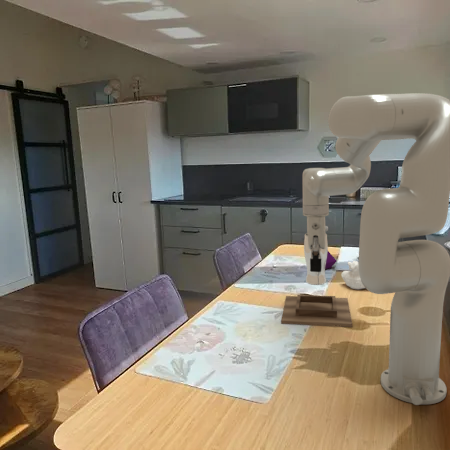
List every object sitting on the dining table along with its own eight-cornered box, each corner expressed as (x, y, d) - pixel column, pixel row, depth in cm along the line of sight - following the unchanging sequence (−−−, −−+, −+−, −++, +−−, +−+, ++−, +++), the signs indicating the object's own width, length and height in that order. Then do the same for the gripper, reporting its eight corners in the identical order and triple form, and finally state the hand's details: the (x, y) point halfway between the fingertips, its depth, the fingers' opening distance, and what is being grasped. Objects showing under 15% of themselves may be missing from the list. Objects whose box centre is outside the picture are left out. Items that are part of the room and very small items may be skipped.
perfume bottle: (311, 267, 172) (310, 225, 169) (325, 264, 176) (325, 223, 172) (322, 271, 166) (322, 228, 162) (336, 268, 169) (337, 226, 165)
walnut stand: (352, 327, 115) (352, 317, 114) (281, 323, 119) (280, 313, 118) (347, 300, 134) (347, 292, 133) (286, 298, 138) (286, 290, 138)
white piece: (328, 286, 121) (328, 236, 118) (304, 285, 122) (303, 236, 119) (327, 278, 127) (327, 231, 124) (304, 278, 129) (304, 231, 126)
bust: (340, 290, 149) (332, 272, 143) (347, 274, 153) (339, 255, 146) (372, 297, 142) (365, 278, 135) (379, 279, 145) (372, 260, 138)
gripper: (329, 214, 111) (329, 277, 115) (327, 205, 128) (327, 260, 131) (301, 215, 113) (302, 276, 116) (303, 205, 130) (304, 259, 133)
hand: (315, 267), depth 124 cm, fingers closed on white piece, 6 cm apart
